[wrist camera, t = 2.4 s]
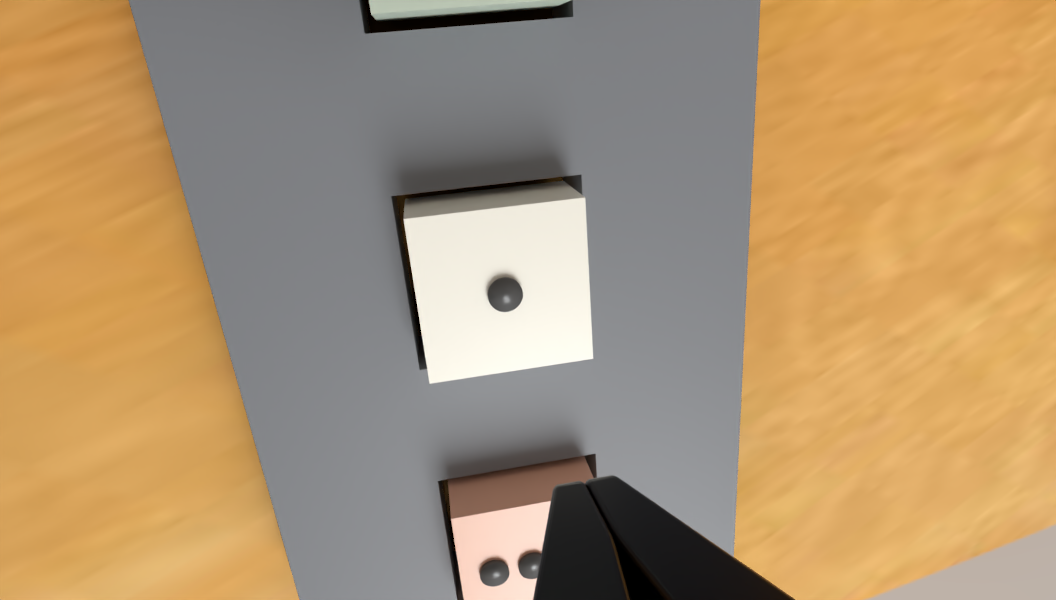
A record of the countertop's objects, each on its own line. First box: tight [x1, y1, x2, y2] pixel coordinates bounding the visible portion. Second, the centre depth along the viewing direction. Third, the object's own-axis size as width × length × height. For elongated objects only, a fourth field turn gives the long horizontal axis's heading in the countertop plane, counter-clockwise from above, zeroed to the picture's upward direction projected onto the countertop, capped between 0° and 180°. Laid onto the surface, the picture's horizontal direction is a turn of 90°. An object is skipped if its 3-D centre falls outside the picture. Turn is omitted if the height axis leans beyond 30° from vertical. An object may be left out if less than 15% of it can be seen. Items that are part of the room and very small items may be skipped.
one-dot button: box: [404, 181, 593, 384], centre depth 17 cm, size 4×4×3 cm
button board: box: [129, 0, 760, 600], centre depth 19 cm, size 15×25×2 cm, turn 5°
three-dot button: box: [448, 456, 593, 600], centre depth 20 cm, size 4×4×3 cm
